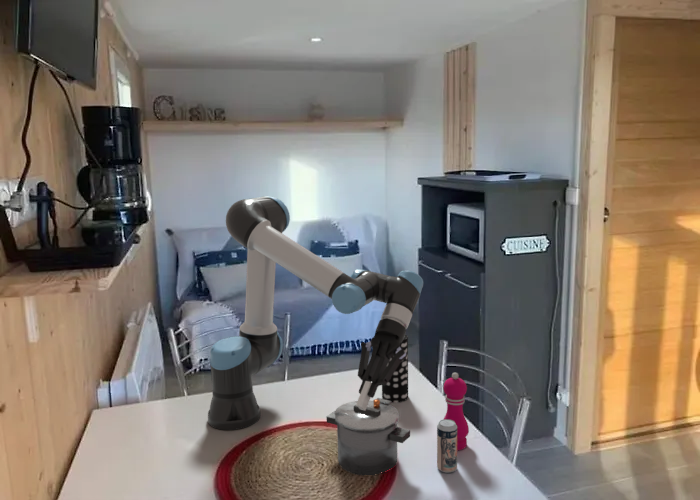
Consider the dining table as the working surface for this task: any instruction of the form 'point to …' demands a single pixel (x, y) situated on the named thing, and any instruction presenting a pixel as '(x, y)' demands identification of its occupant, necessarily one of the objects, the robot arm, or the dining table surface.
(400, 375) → the white-spotted black cylinder
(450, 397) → the pepper mill
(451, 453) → the beer can
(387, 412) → the pot lid
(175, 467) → the dining table surface
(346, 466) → the cooking pot
